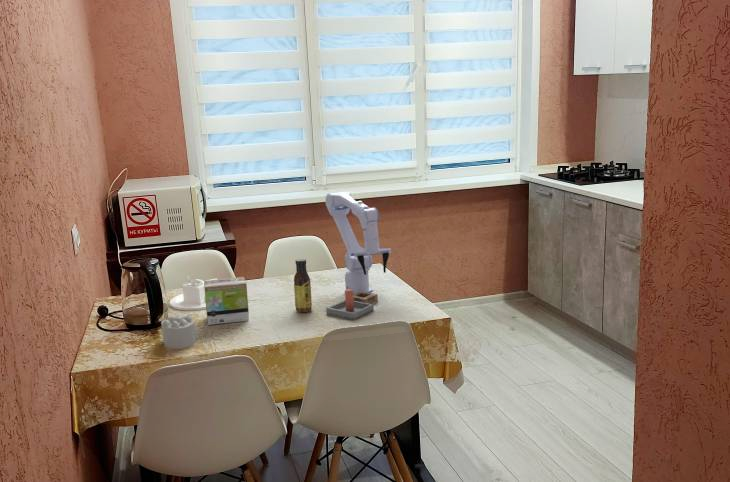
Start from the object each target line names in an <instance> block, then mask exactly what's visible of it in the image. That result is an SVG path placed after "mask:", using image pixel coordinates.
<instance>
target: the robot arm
mask: <svg viewBox="0 0 730 482" xmlns="http://www.w3.org/2000/svg"><path fill="white" fill-rule="evenodd" d="M325 206H326V208H327V211H328V213H329V215H330V216H331V217H332V218H333V221H334V222H335V224H336V228H337V229H338V232H339V234H340V237H341V239H342V241H343V243H344V245H345V247H346V250H347V251H346V253H345V255H344V261H345V267H346V269H347V270H346V272H345V274H344V275H345V276H344V283H345V290H347V289H352V290H353V294H356V293H358V292H360V291H363V292H369V293H372V291H374V288H371V287H370V281H369V279H370V277H369V271H370V270H371V268H372V267H373V266H372V265H373V257H372V256H378V255H381V256H382V266H383V270H382V271H383V274H386V270H387V264H388V259H389V257H390V254H392V248H391V247H388V248H380V239H379V230H378V229H379V228H378V222H379V220H380V212H379V210H378V209H377V208H376V207H375V206H373V207H369V206H368V205H366V204H365V203H363V201H362V200H358V201H356V200H355V199H354V198H353V197H352V193H350V192H349V191H348V190H347V191H342V192H339V191H338V192H333V193H327V194H326V196H325ZM350 211H351V213H352V214H353V216H356V217H357V218H358V220H359V223H360V227H361V228H362V231H363V233H362V234H363V244H364V247H362V246H360V244H359V241H358V239H357V238H356V236H355V234H354V231H353V229H352V227H351V224H350V222H349V219H348V218H347V217H348V216H347V215H348V214H349V213H350Z"/></svg>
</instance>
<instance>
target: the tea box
mask: <svg viewBox="0 0 730 482" xmlns="http://www.w3.org/2000/svg"><path fill="white" fill-rule="evenodd" d="M203 281H204V287H205V300H206V309H205V310H206V319H207V325H208V326H212V325H218V324H220V325H221V324H229V323H239V322H240V323H241V322H248V321H250V315H249V300H248V299H249V298H248V284H247V281H246V279H245V276H241V277H239V276H238V277H231V278H229V277H228V278H220V279H219V278H217V280H210V279H207V281H205V280H203Z"/></svg>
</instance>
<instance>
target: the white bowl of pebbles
mask: <svg viewBox="0 0 730 482" xmlns="http://www.w3.org/2000/svg"><path fill="white" fill-rule="evenodd" d="M160 324H161V325H160V326H161V333H162V341H163V345H164V347H166V348H168V349H172V350H183V349H187V348H190V347H193V346H194V345H195V343H196V342H197V336H196V326H195V325H196V324H195V320H194V318H193V317H192V316H191V315H184V314H177V315H170V316H167V318H165V319H162V321H161V322H160Z"/></svg>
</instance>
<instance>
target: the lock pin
mask: <svg viewBox="0 0 730 482" xmlns="http://www.w3.org/2000/svg"><path fill="white" fill-rule="evenodd" d="M353 294H354V293H353V290H352V289H347V290H346V289H344V297H345V298H344V300H345V302H346V311H348V312H353V311H354V301H353Z"/></svg>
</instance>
